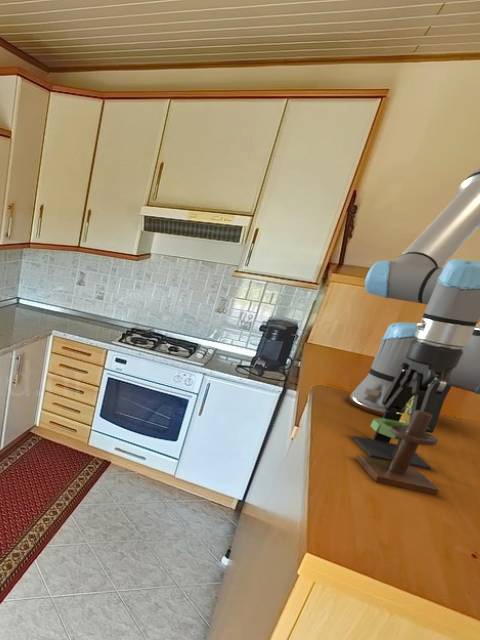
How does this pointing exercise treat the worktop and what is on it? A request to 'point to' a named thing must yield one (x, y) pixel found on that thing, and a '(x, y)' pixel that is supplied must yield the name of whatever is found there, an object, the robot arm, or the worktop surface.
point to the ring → (386, 426)
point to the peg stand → (404, 457)
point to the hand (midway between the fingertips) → (390, 449)
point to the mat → (385, 451)
